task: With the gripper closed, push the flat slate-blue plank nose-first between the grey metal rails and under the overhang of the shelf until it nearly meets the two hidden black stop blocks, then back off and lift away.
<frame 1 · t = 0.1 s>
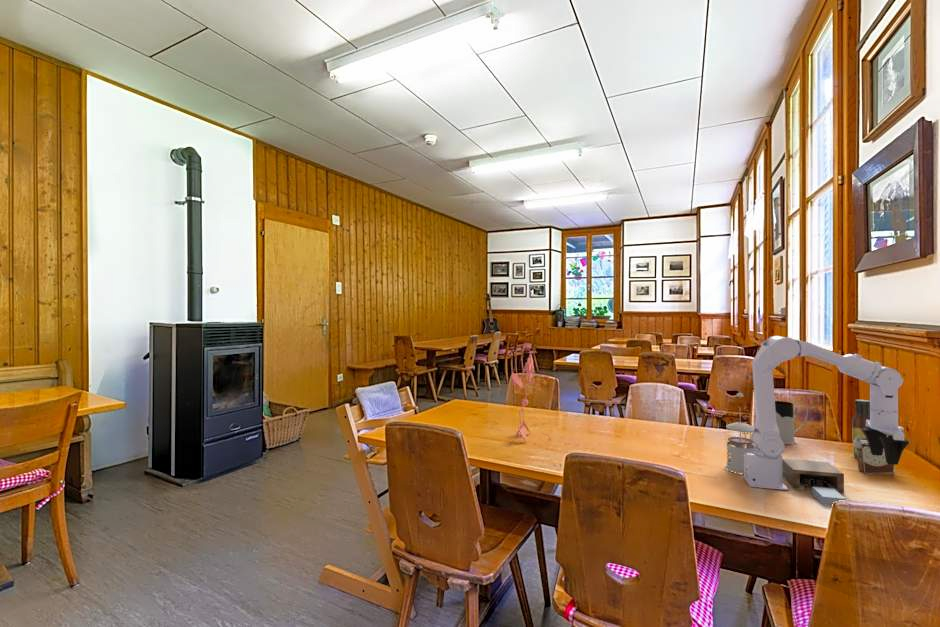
hand: (884, 459, 123), 10 cm above the table, tool pointing down, fingers open, 7 cm apart
food container: (870, 470, 142), on the table
french press: (742, 469, 145), on the table
plank: (828, 501, 121), on the table
figurine: (531, 439, 183), on the table
glass holder: (789, 441, 174), on the table
overhang shelf: (811, 484, 132), on the table
sauce bottle: (864, 458, 153), on the table
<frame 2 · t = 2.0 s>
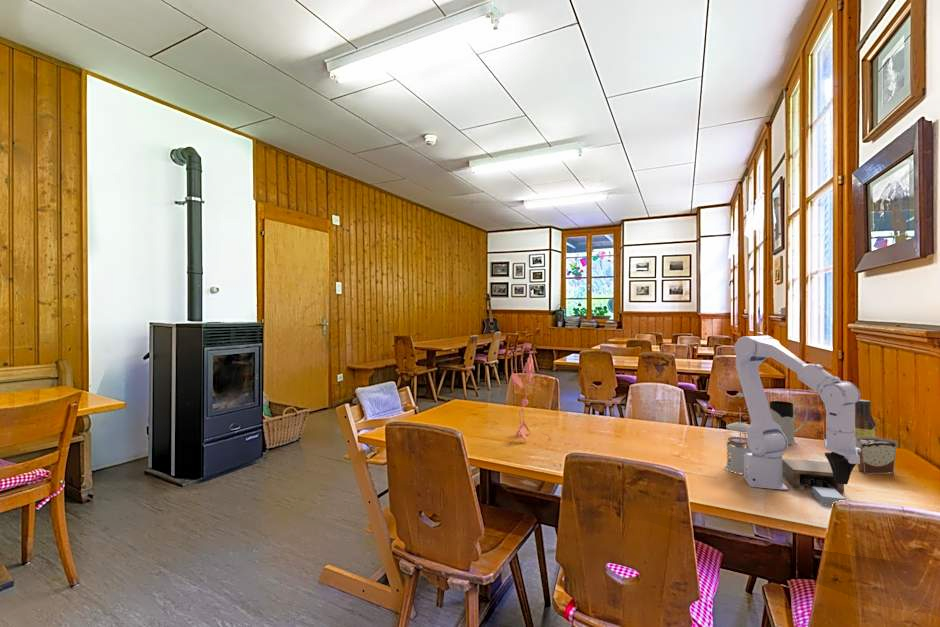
hand: (841, 483, 114), 7 cm above the table, tool pointing down, fingers closed
nothing on the table moved.
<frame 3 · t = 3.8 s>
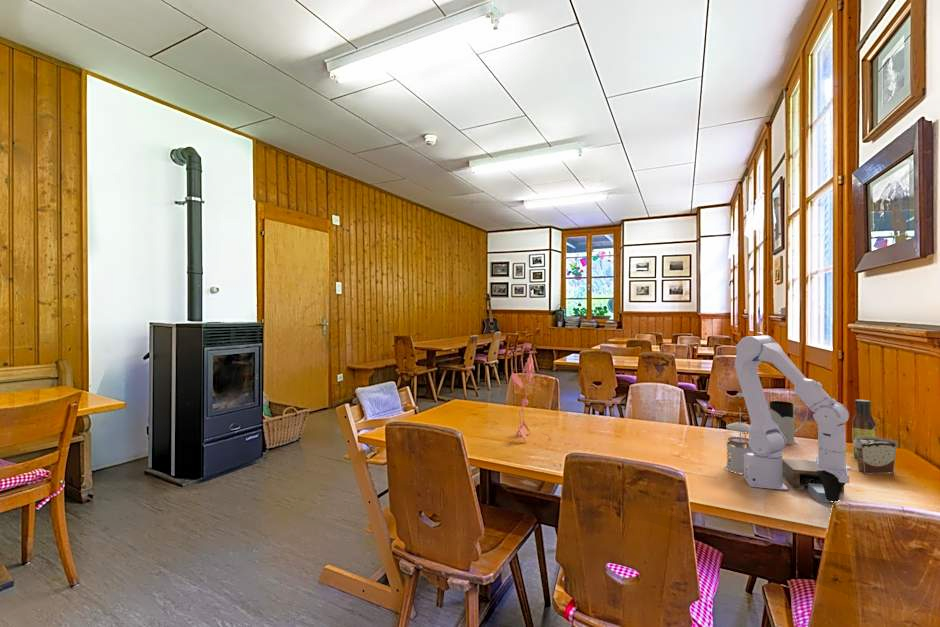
hand: (832, 500, 118), 1 cm above the table, tool pointing down, fingers closed
plank: (824, 497, 123), on the table, touching gripper
everything else where it was.
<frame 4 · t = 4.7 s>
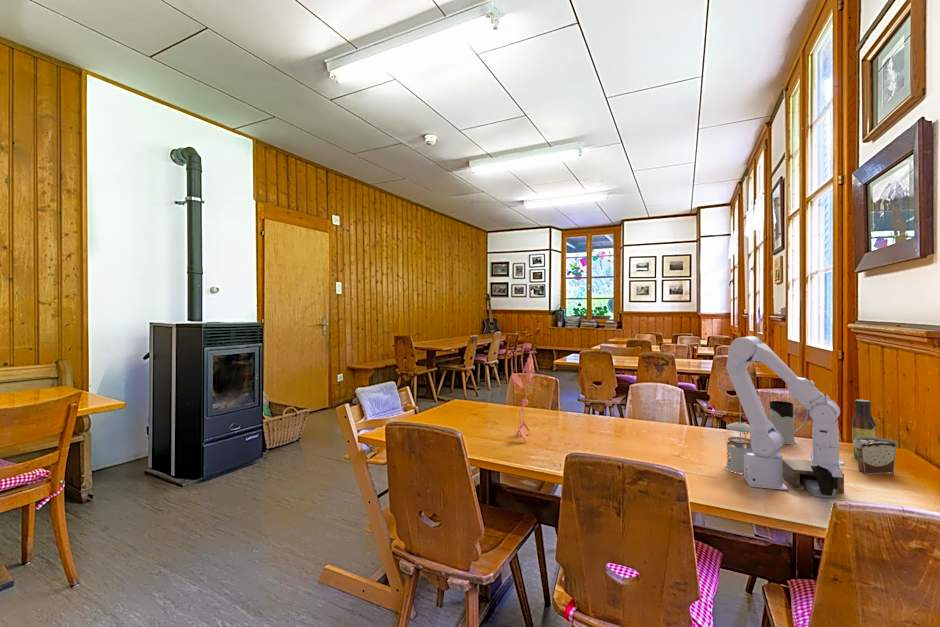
hand: (826, 494, 122), 1 cm above the table, tool pointing down, fingers closed
plank: (819, 493, 126), on the table, touching gripper
everything else where it was.
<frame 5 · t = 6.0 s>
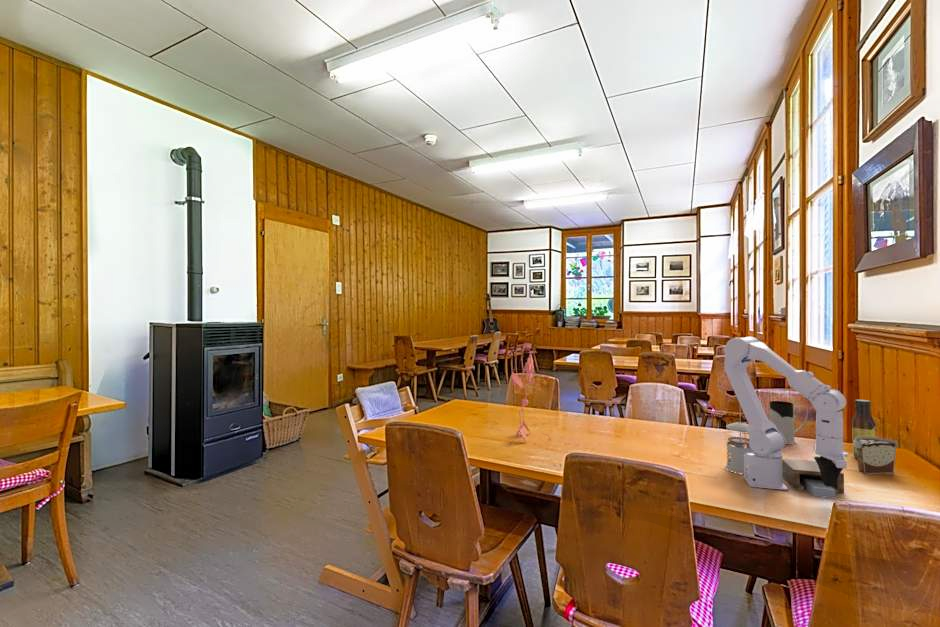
hand: (829, 485, 120), 4 cm above the table, tool pointing down, fingers closed
plank: (819, 492, 126), on the table
everything else where it was.
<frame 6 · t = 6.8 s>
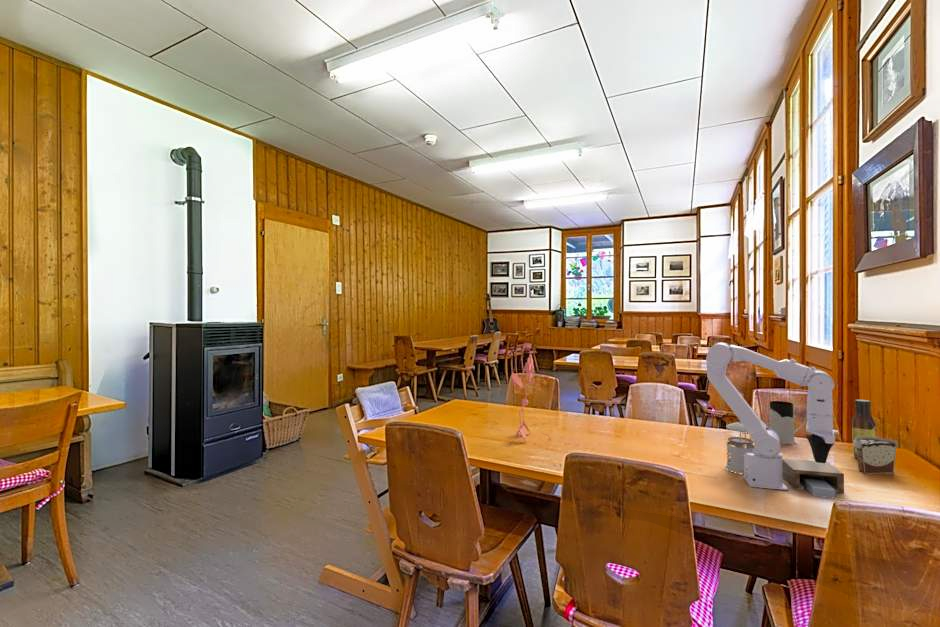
hand: (820, 462, 125), 9 cm above the table, tool pointing down, fingers closed
nothing on the table moved.
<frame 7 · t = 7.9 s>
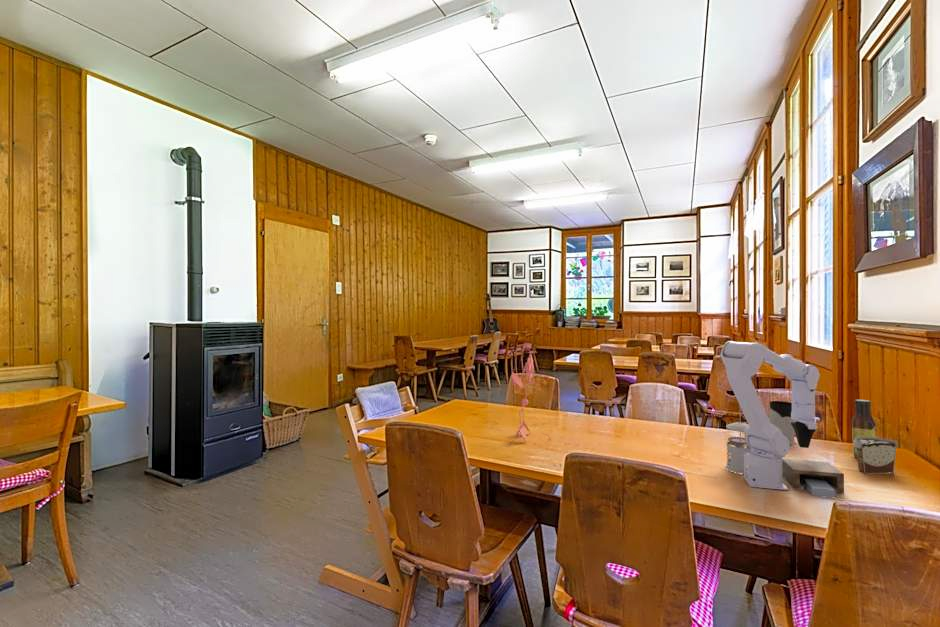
hand: (803, 447, 137), 9 cm above the table, tool pointing down, fingers closed
nothing on the table moved.
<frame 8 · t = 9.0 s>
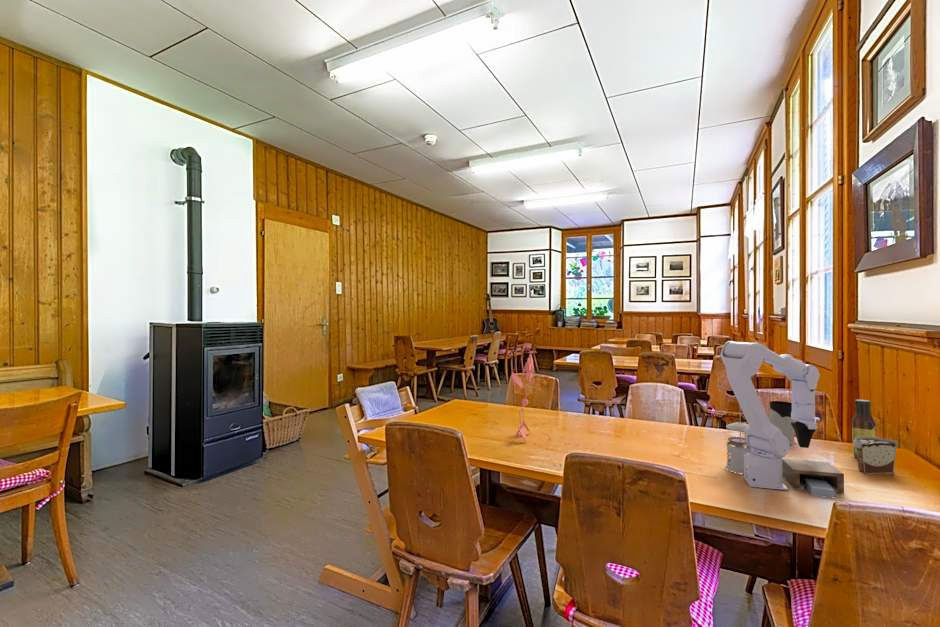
hand: (803, 447, 137), 9 cm above the table, tool pointing down, fingers closed
nothing on the table moved.
at the end: plank 0.0 cm from the target spot, on the table; plank tilted 0°; the gripper is holding nothing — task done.
